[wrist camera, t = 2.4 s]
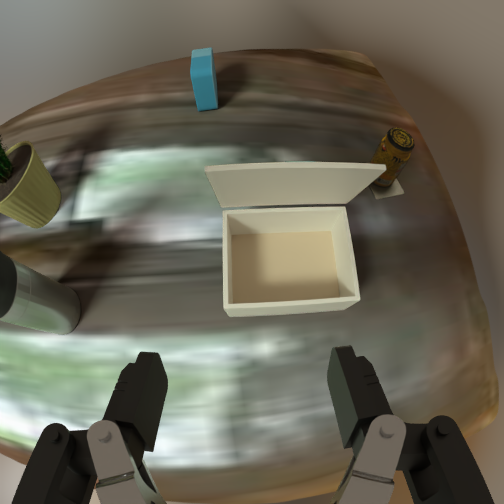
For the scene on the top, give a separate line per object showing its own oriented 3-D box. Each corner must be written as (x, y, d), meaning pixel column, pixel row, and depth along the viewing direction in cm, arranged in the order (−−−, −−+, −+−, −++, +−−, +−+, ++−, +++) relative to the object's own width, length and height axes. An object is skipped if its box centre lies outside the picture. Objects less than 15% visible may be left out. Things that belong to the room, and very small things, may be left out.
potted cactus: (77, 203, 52) (-6, 109, 24) (30, 250, 48) (-65, 182, 20) (58, 167, 56) (-7, 84, 28) (16, 208, 53) (-57, 141, 24)
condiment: (386, 160, 54) (406, 122, 43) (404, 194, 51) (430, 158, 40) (357, 164, 53) (375, 124, 42) (375, 200, 51) (399, 162, 39)
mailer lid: (386, 169, 27) (385, 163, 27) (204, 171, 27) (204, 165, 27) (346, 203, 41) (346, 199, 41) (221, 207, 41) (221, 202, 41)
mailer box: (343, 309, 44) (360, 300, 36) (229, 316, 44) (223, 308, 36) (333, 229, 48) (345, 206, 41) (228, 233, 49) (222, 210, 41)
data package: (199, 85, 63) (192, 47, 52) (216, 82, 63) (211, 45, 52) (198, 114, 59) (189, 73, 48) (218, 111, 59) (212, 70, 48)
